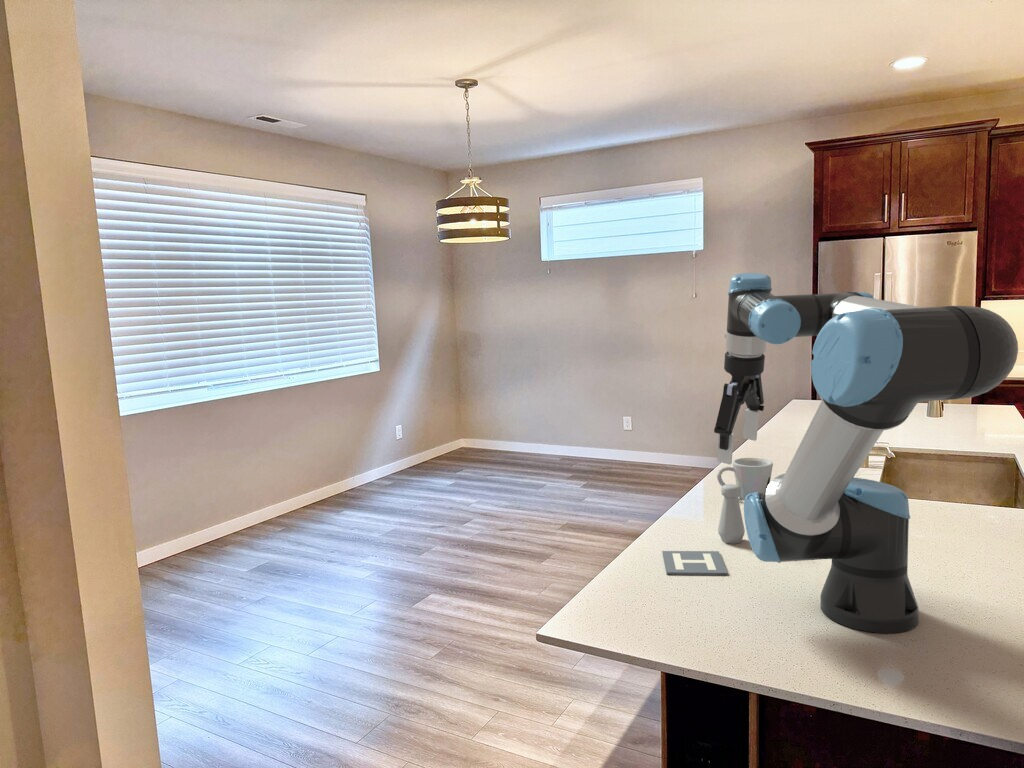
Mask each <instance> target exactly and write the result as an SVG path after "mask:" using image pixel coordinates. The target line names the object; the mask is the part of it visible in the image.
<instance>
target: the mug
mask: <svg viewBox="0 0 1024 768" xmlns="http://www.w3.org/2000/svg"><path fill="white" fill-rule="evenodd" d="M773 466H774V463H773V461H771V460H769V459H765V458H761V457H740V458H735V459H734V460H732V466H725V467H721V468H720V469H719V470H718V473H717V475H716V479H717V481H718V483H719V485H720V486H721V487H722V486H723V485H726V483H725V482H724V480H723V478H722V474H723V473H725V472H726V471H729V472H733V473H734V479H735V485H738V486H739V487H740V488H741V495H740V496H739V497H738V499H741V500H743V499H744V500H743V501H745V497H746V496H747V495H748V494H750V493H755V492H758V493H764V492H765V491H766V489H767V487H768V485H769V483H770V482H771V477H772V472H773Z"/></svg>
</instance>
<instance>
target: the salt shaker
mask: <svg viewBox="0 0 1024 768" xmlns="http://www.w3.org/2000/svg"><path fill="white" fill-rule="evenodd" d="M725 484H726V483H725ZM720 491H721V492H720V493H721V495H722V496H723V500H722V501H723V502H722V507H721V512H720V517H719V523H718V528H717V532H718V535H719V537H720V540H721V541H722V542H724V543H725V544H729V543H730V544H729V545H731V544H732V545H736V544H739V543H740V544H741V543H742V540H743V538H744V537H745V532H746V531H745V530H746V528H745V526H744V525H745V523H744V521H743V515H742V511H741V506H740V505H741V504H740V498H739V496H740V495H741V488H740V487H739V486H738V485H736V483H728V484H726V485H723V486H721V489H720Z"/></svg>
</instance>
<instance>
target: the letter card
mask: <svg viewBox="0 0 1024 768" xmlns="http://www.w3.org/2000/svg"><path fill="white" fill-rule="evenodd" d="M661 552H662V558H663V563H664V567H665V568H664V569H665V573H666V575H667V574H671V576H672V575H674V576H676V575H677V576H729V575H728V573H729V572H728V571H727V568H726V565H725V562H724V561H723V559H722V556H721V554H720V551H719V550H702V551H701V550H662V551H661ZM675 574H676V575H675Z"/></svg>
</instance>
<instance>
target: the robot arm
mask: <svg viewBox="0 0 1024 768" xmlns="http://www.w3.org/2000/svg"><path fill="white" fill-rule="evenodd" d="M729 281H730V282H729V287H728V292H727V295H728V300H727V301H728V303H727V304H728V305H727V318H726V333H725V334H724V338H725V339H726V341H725V350H726V352H725V353H724V362H723V363H724V364H723V365H724V367H723V368H724V371H725V372H726V373H727V374H730V375H731V380H730V381H729V383H724V385H723V391H722V397H721V401H720V405H719V409H718V410H719V411H718V414H717V418H716V421H715V425H714V429H713V432H714V434H718V444H717V459H716V460H717V462H719V463H722V464H727V465H733V463H732V462H733V452H734V451H733V450H734V449H733V448H734V438H735V437H734V436H735V433H733V430H734V427H735V424H736V422H737V418H738V415H739V413H740V409H741V406H742V405H744V404H745V405H746V409H745V410H744V419H743V432H742V439H746V440H749V441H755V442H756V441H757V439H758V430H759V418H760V417H759V414H760V411H761V412H763V411H764V409H765V406H764V403H765V400H764V399H765V398H764V392H763V385H762V384H763V383H762V374H763V372H764V369H765V361H766V358H765V357H766V355H765V353H766V352H767V343H768V344H772V345H782V344H785V343H787V342H789V341H791V340H792V339H794V338H801V337H802V338H804V337H806V338H807V337H815V336H816V339H815V340H814V344H813V347H812V353H811V354H812V355H813V359H812V360H811V361H810V373H811V380H812V383H813V387H814V388H815V391H816V393H817V394H818V395H819V398H820V400H821V401H820V404H819V406H818V407H817V409H816V412H815V413H814V416H813V417H812V419H811V421H810V424H809V425H808V427H807V430H806V431H805V433H804V435H803V437H802V438H801V439H802V440H801V442H800V443H799V444H798V447H797V449H796V451H795V453H794V455H793V458H792V459H791V461H790V463H789V465H788V467H787V470H786V471H785V473H781V474H779V475H778V476H776V477H774V478H773V479H772V480H770V483H769V485H768V487H767V489H766V491H765V492H764V493H758V492H755V493H750V494H748V495H747V496H746V497H745V500H743V518H744V525H745V526H744V527H745V530H746V531H745V532H746V535H747V538H748V539H747V540H748V542H749V544H750V547H751V550H752V552H753V554H754V555H755V557H756V558H757V559H758V560H760V561H762V562H763V563H764V562H765V563H769V562H770V563H776V562H777V563H778V564H781V563H782V562H783V563H784V562H801V561H816V560H820V561H821V560H831V567H830V568H829V572H828V575H827V577H826V579H825V582H824V584H823V588H822V590H821V592H820V604H819V605H820V610H821V612H822V613H823V614H824V616H826V617H828V618H829V619H830V620H832V621H834V622H836V623H838V624H839V625H842V626H845V627H848V628H851V629H856V630H860V631H863V632H868V633H869V632H870V633H878V634H895V633H902V632H903V633H904V632H907V631H910V630H912V629H914V628H915V627H917V625H918V624H919V617H920V615H919V611H920V610H919V605H918V602H917V600H916V597H915V593H914V590H913V587H912V585H911V582H910V579H909V575H908V567H909V566H908V564H909V563H908V562H909V528H910V527H909V524H910V523H909V522H910V521H909V520H911V515H910V507H909V505H910V504H909V499H908V495H907V493H906V492H904V491H903V490H902V489H901V488H899V487H896V486H894V485H891V484H888V483H885V482H882V481H877V480H873V479H867V478H862V477H860V478H859V477H855V476H856V474H857V473H858V471H859V469H860V468H861V466H862V465H863V464H864V462H865V460H866V459H867V457H868V455H869V454H870V452H871V451H872V449H873V448H874V446H875V445H876V443H877V441H878V440H879V438H880V437H881V435H882V434H883V432H884V431H887V430H892V429H895V428H897V427H899V426H900V425H902V424H903V423H905V421H906V420H907V419H908V417H909V416H910V415H911V414H912V412H913V410H914V409H915V407H916V406H917V405H918V404H920V403H922V402H929V401H930V402H932V401H933V402H934V401H936V402H937V401H948V400H949V401H950V400H951V401H953V400H963V399H964V400H965V399H969V398H974V397H977V396H981V395H982V394H985V393H988V392H989V391H991V390H993V389H994V388H996V387H998V386H999V385H1000V384H1001V383H1002V382H1003V381H1005V380H1006V379H1007V378H1008V376H1009V374H1011V372H1012V371H1013V369H1014V368H1015V365H1016V362H1017V358H1018V353H1019V344H1018V342H1019V341H1018V339H1017V336H1016V333H1015V331H1014V328H1013V327H1012V326H1011V325H1010V323H1009V322H1008V321H1007V320H1006V319H1005V318H1004V317H1002V316H1001V315H999V314H997V312H994V311H992V310H990V309H986V308H983V307H979V306H973V305H972V306H971V305H947V306H932V307H931V306H929V307H928V306H927V307H925V306H924V307H923V306H918V305H913V304H907V303H906V304H905V303H902V302H894V301H888V300H884V299H878V298H874V296H873V295H872V294H871V293H869V292H863V291H862V292H861V291H846V292H836V293H835V292H834V293H817V294H814V293H812V294H810V293H809V294H788V295H775V294H773V293H771V292H772V289H773V288H772V279H771V277H770V276H769V275H767V274H764V273H759V272H743V273H737V274H734V275H733V276H732V277H731V278H730V280H729Z"/></svg>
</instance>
